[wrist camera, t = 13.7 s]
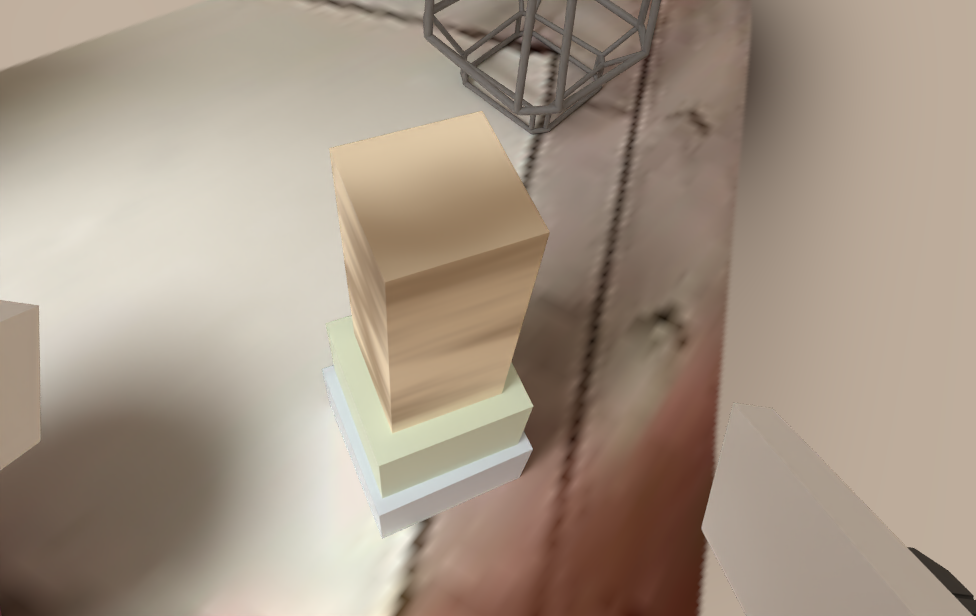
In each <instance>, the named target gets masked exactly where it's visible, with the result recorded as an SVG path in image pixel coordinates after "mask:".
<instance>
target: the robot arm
mask: <svg viewBox="0 0 976 616" xmlns="http://www.w3.org/2000/svg"><path fill="white" fill-rule="evenodd" d="M40 441H41V417H40V350H39V306H38V305H31V304H24V303H17V302H10V301H3V300H0V471H1V470H2V469H3V468H5V467H6V466H7V465H9V464H10V463H12V462H13V461H14V460H16V459H17V458H18V457H20V456H21V455H23V454H24V453H25V452H27V451H28V450H29V449H31V448H32V447H34V446H35V445H36V444H38V443H39V442H40ZM701 529H702V531H703V533H704V535H705V537H706V539H707V541H708V543H709V545H710V547H711V549H712V551H713V553H714V555H715V556H716V559H717V560H718V562H719V564H720V566H721V568H722V570H723V572H724V574H725V576H726V578H727V580H728V582H729V584H730V586H731V588H732V590H733V592H734V594H735V596H736V598H737V599H738V601H739V603H740V605H741V607H742V609H743V611H744V613H745V615H746V616H976V600H974V599H973V595H972V594H971V593H970V592H969V591H968V590H967V589H966V588H965V587H964V586H963V585H962V584H961V583H960V582H959V581H958V580H957V579H956V578H955V577H954V576H953V575H952V574H951V573H950V572H949V571H948V570H946V569H945V568H943V567H942V566H940V565H939V564H937V563H936V562H934V561H933V560H931V559H930V558H928V557H927V556H925V555H924V554H922V553H921V552H919V551H918V550H916V549H914V548H910V547H906V546H905V545H904V544H903V543H902V542H901V541H900V540H899V538H898V537H897V536H896V535H895V534H894V533H893V532H892V531H891V530H890V529H888V527H887V526H886V525H885V524H884V523H883V522H882V521H881V520H880V519H879V518H878V517H877V516H876V515H875V514H874V513H873V512H872V511H871V510H870V508H869V507H868V506H866V505H865V503H864V502H863V501H862V500H861V499H860V498H859V497H858V496H857V495H856V494H855V493H854V492H853V491H852V490H851V489H850V488H849V487H848V486H847V485H846V484H845V483H844V482H843V481H842V480H841V478H840V477H839V476H837V474H836V473H835V472H834V471H833V470H832V469H831V468H830V467H829V466H828V465H827V464H826V463H825V462H824V461H823V460H822V459H821V458H820V457H819V456H818V455H817V454H816V453H815V452H814V451H813V450H812V449H811V448H810V446H809V445H808V444H807V443H806V442H805V441H804V440H803V439H802V438H801V437H800V436H799V435H798V434H797V433H796V432H795V431H794V430H793V429H792V428H791V427H790V426H789V425H788V424H787V423H786V422H785V421H784V420H783V419H782V417H781V416H780V415H779V414H777V412H776V411H775V410H774V409H773V408H770V407H762V406H755V405H748V404H741V403H733V405H732V409H731V413H730V417H729V421H728V425H727V429H726V433H725V437H724V441H723V445H722V449H721V453H720V457H719V461H718V465H717V468H716V472H715V476H714V480H713V484H712V488H711V492H710V496H709V500H708V504H707V508H706V512H705V516H704V520H703V524H702V528H701Z"/></svg>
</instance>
